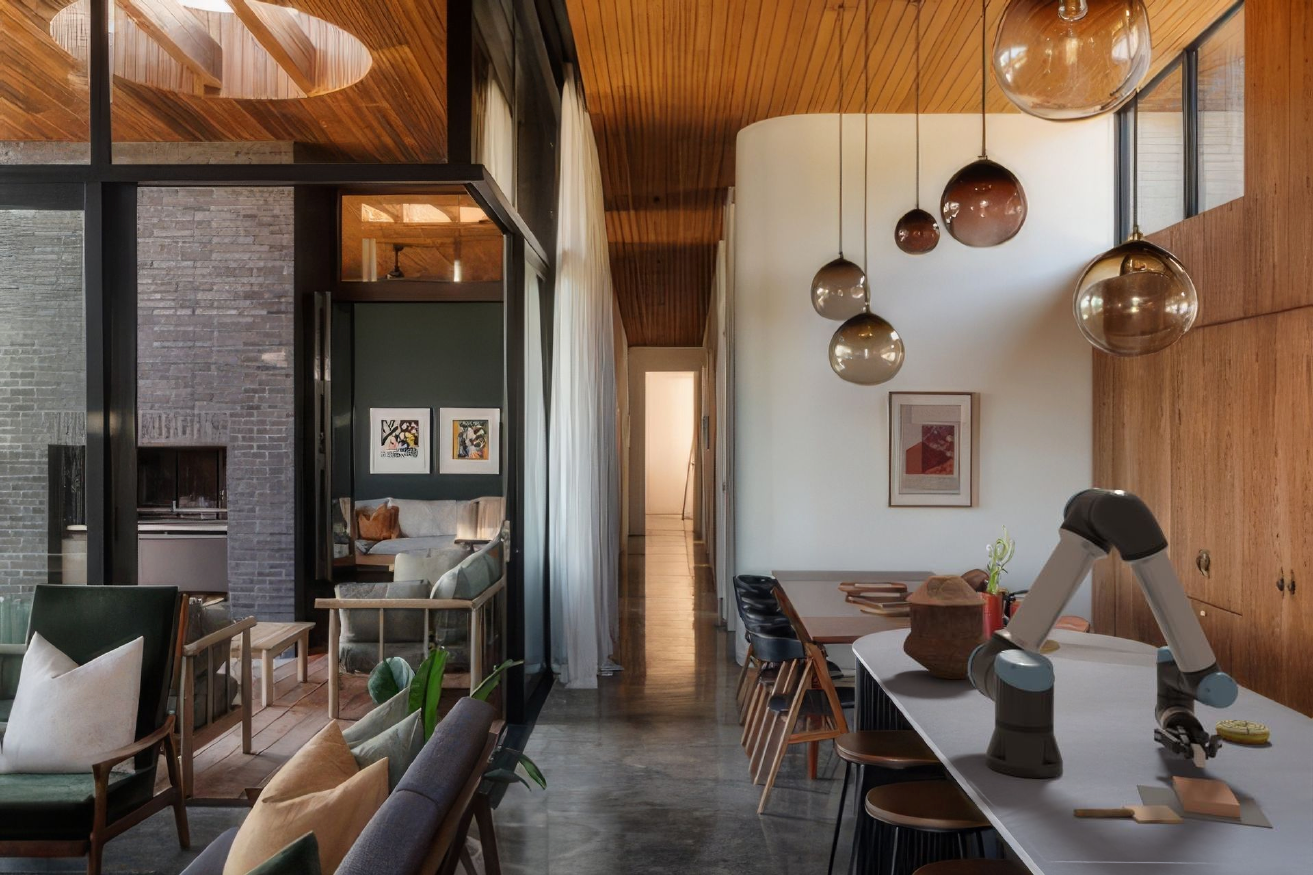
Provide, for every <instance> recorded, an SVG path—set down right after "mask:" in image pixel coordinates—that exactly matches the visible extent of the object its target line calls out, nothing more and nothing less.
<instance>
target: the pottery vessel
mask: <svg viewBox="0 0 1313 875" xmlns="http://www.w3.org/2000/svg"><path fill="white" fill-rule="evenodd" d="M905 601H906V603H909V623H910V632H909V633H908V635H907V636H906V638H905V640H904V642H903V647H902V648H903V651H904V653H905V654H906V655H907V656H908V657H910V658H911V659H912V660H913V661H915V662H917V663H918V664H919V665H920V666H922V667H923V668H925V670H928V671H929V672H930V673H931V674H932V676H934V677H935V678H940V679H947V680H948V679H950V680H962V679H966V678H967V676H968V675H969V674H968V661H969V658H970V656H971V654H972V653H973V651H974V650H975V649H976V648H977V647H979V646H981V645H983V644H986V643H987V642H988V641H989V639H990V638H989V637H987V636H986V633H984V629H985V628H984V627H985V626H984V606H986V605H988V604H989V603H988V601H987V600H985V599H984V598H982V596H980V594H979V593H978V592H977V591H976V590H975V589H974V588H973V587H972V586H971V585H970V584H969V583H968V582H967V581H966V580H964V579H963V577H961V576H959V575H957V574H937V575H930V576H929V577H928V578H927V579H926V580H925V581H923V583H922V584H921V585H920V586H918V587H917V589H915V590H914V591H913V593H911V594H910V595H909V596H907V597H906V599H905Z"/></svg>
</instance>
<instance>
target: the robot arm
mask: <svg viewBox="0 0 1313 875" xmlns="http://www.w3.org/2000/svg"><path fill="white" fill-rule="evenodd" d="M1062 513H1063V514H1062V516H1063V522H1062V523H1061V524H1060V527H1059V528H1058V534H1059V539H1060V540H1059V542H1058V544H1057V545H1056V547H1055V548H1054V550H1053V551H1052V552H1051V554H1050V556H1049V558H1048V559H1047V561H1046V562H1045V564H1044V566H1043V567H1042V569H1041V570H1040V572H1039V574H1038V575H1037V577H1036V578H1035V580H1034V581H1033V583H1032V585H1031V586H1030V588H1029V589H1028V591H1027V592H1026V594H1025V596H1024V597H1023V599H1022V601H1021V602H1020V603H1019V605H1018V607H1017V609H1016V610H1015V612H1014V614H1012V616H1011V618H1010V619H1009V621H1008V623H1007V624H1006V626H1005V627H1004V628H1003V629H998V630H994V632H993V633H992V635H991V637H990V638H988V639H989V641H988V642H987V643H986V644H983V645H981V646H979V647H977V648H976V649H975V650H974V651H973V653H972V654H971V656H970V658H969V661H968V674H967V675H968V678H969V680H970V682H971V683H972V685H973V686H974V688H976V690H977V691H978V692H979V693H980V694H981V695H983V696H984V697H985V698H988V699H989V700H991V701H992V702H993V703H994V730H993V732H992V735H991V738H990V740H989V744H988V746H987V750H986V754H985V760H986V762H985V763H986V766H987V767H988V768H990V769H992V770H994V771H996V772H998V773H1002V774H1005V775H1011V776H1015V777H1020V778H1028V779H1029V778H1030V779H1032V778H1033V779H1048V778H1054V777H1057V776H1058V777H1059V776H1060V775H1062V774H1063V773H1064V772H1063V771H1064V769H1063V768H1064V767H1063V766H1064V760H1063V757H1062V754H1061V752H1060V748H1059V745H1058V742H1057V739H1056V736H1055V728H1054V726H1055V724H1054V722H1055V681H1056V680H1055V679H1056V676H1055V673H1054V672H1055V670H1054V665H1053V663H1052V661H1051V660H1050V659H1049V658H1048V657H1046V656H1045V655H1043V654H1041V650H1042V648H1043V646H1044V644H1045V643H1046V642H1047V640H1048V638H1049V636H1050V635H1051V633H1052V631H1053V630H1054V628H1055V627H1056V625H1057V624H1058V622H1059V621H1060V619H1061V618H1062V616H1063V614H1064V613H1065V611H1066V609H1067V608H1068V606H1069V604H1070V603H1071V601H1072V600H1073V598H1074V597H1075V595H1076V593H1077V592H1078V591H1079V589H1080V587H1081V585H1082V584H1083V582H1084V581H1085V579H1086V577H1087V576H1088V574H1089V573H1090V571H1091V570H1092V568H1093V566H1094V565H1095V563H1096V562H1097V561H1098V560H1101V559H1105V558H1108V556H1109V555H1110V553H1111V552H1112V550H1113V549H1114V548H1115V549H1116V550H1117V552H1118V554H1119V557H1120V558H1121V560H1122V562H1124V563H1127V564H1129V566H1130V568H1131V569H1132V572H1133V574H1134V577H1135V578H1136V580H1137V582H1138V584H1139V586H1140V589H1141V591H1142V593H1143V595H1144V597H1145V600H1146V601H1147V603H1148V606H1149V608H1150V610H1151V612H1152V614H1153V616H1154V618H1155V621H1156V623H1157V624H1158V627H1159V630H1160V631H1161V633H1162V635H1163V637H1164V640H1165V642H1166V643H1167V644H1166V645H1167V646H1166V645H1164V646H1161V647H1158V649H1157V654H1156V655H1157V656H1156V662H1155V664H1156V704H1155V707H1154V716H1155V717H1154V718H1155V720H1156V722H1157V724H1158V726H1159V727H1160V728H1158V727H1156V728H1154V729H1153V736H1154V737H1153V741H1154V742H1157V743H1159V744H1161V745H1162V746H1164V748H1166V749H1168V750H1169V751H1170V752H1172V753H1173V754H1176V755H1180V754H1181V753H1183V756H1184V760H1187V761H1190V760H1192V761H1193V763H1194V764H1195V766H1196V767H1197V768H1206V760H1207V761H1208V760H1209V759H1210V758H1211V759H1215V758H1216V756H1217V753H1218V751H1219V750H1220V749H1221V748H1223V738H1222V735H1220V734H1217V733H1216V734H1211V735H1210V734H1209V733H1208V732H1207V731H1205V728H1204V727H1203V725H1202V723H1201V722H1200V721H1199V719H1198V718H1197V716H1196V715H1195V701H1196V702H1198V703H1200V704H1202V705H1204V706H1207V707H1211V708H1214V709H1226V708H1229V707H1230V706H1232V705H1233V704H1234V703H1235V702H1236V700H1237V699H1238V696H1239V686H1238V684H1237V682H1236V680H1235V679H1234V677H1232V676H1230V675H1229V674H1227V673H1226V672H1223V671H1222V669H1221V667H1220V665H1219V663H1218V660H1217V658H1216V656H1215V653H1214V652H1213V650H1212V648H1211V646H1210V643H1209V641H1208V639H1207V637H1206V634H1205V633H1204V630H1203V627H1202V626H1201V624H1200V622H1199V620H1198V618H1197V615H1196V613H1195V610H1194V609H1193V607H1192V604H1191V603H1190V600H1189V598H1188V595H1187V594H1186V592H1185V589H1184V587H1183V584H1182V583H1181V580H1180V579H1179V576H1178V575H1177V572H1176V569H1175V568H1174V566H1173V563H1172V561H1171V560H1170V557H1169V554H1168V552H1167V550H1168V547H1169V546H1170V545H1169V543H1168V541H1167V538H1166V537H1165V534H1164V532H1163V530H1162V528H1161V526H1160V524H1159V522H1158V520H1157V518H1156V517H1155V515H1154V514H1153V512H1152V511H1151V509H1150V508H1149V506H1148V505H1147V503H1145V501H1144V500H1142V499H1141V498H1140V497H1139V496H1138V495H1136V494H1135V493H1133V492H1130V491H1126V490H1122V489H1106V488H1102V487H1092V488H1088V489H1086V488H1085V489H1083V490H1080V491H1077V492H1076V493H1074V494H1073V495H1072V496H1071V497H1070V498H1069V499H1068V500H1067V501H1066V504H1065V506H1064V507H1063V512H1062ZM1206 744H1207V745H1206Z"/></svg>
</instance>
